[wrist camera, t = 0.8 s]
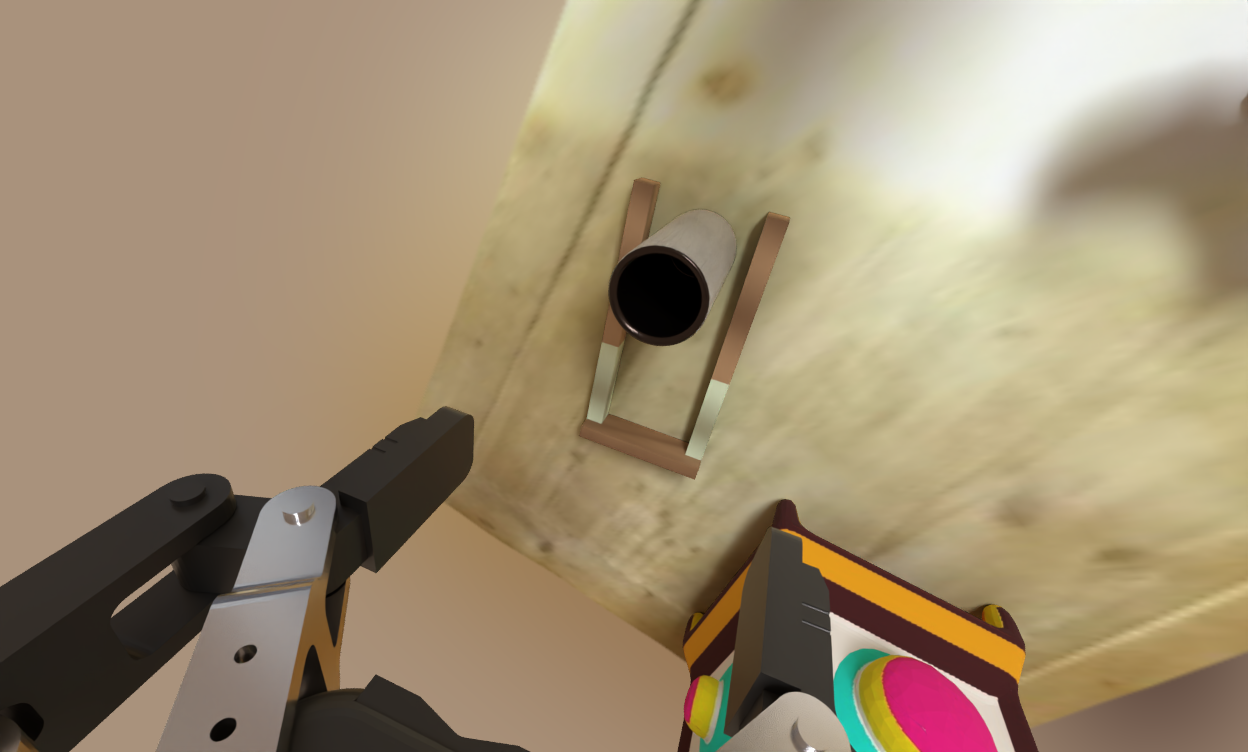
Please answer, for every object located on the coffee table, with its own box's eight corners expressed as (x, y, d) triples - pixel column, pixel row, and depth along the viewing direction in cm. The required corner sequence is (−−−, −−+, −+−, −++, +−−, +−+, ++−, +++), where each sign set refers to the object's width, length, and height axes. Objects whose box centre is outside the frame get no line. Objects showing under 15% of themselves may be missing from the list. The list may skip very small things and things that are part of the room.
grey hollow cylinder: (675, 291, 31) (627, 356, 23) (653, 222, 30) (592, 262, 21) (745, 272, 29) (722, 335, 21) (725, 197, 28) (691, 230, 19)
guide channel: (641, 177, 29) (628, 181, 27) (789, 217, 27) (788, 225, 25) (591, 418, 38) (579, 436, 36) (700, 458, 36) (694, 479, 34)
